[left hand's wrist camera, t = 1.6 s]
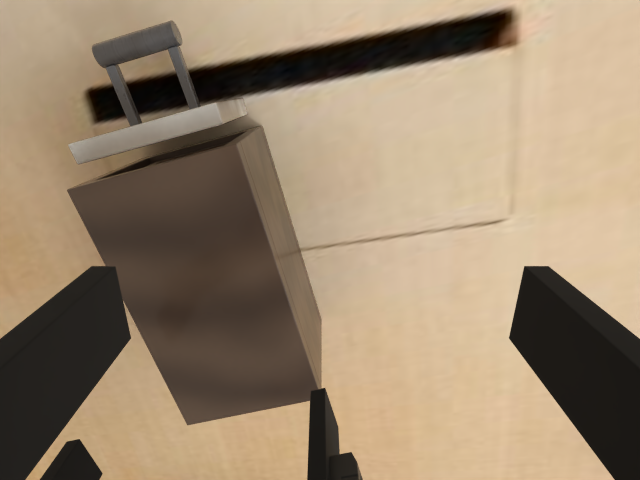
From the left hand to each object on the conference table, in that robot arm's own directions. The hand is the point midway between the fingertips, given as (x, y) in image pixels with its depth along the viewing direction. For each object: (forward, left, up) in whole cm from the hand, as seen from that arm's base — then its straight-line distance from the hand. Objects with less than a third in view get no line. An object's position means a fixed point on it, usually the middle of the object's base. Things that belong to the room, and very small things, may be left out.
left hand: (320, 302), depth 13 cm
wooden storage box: (+9, -3, -20) cm, 22 cm away
